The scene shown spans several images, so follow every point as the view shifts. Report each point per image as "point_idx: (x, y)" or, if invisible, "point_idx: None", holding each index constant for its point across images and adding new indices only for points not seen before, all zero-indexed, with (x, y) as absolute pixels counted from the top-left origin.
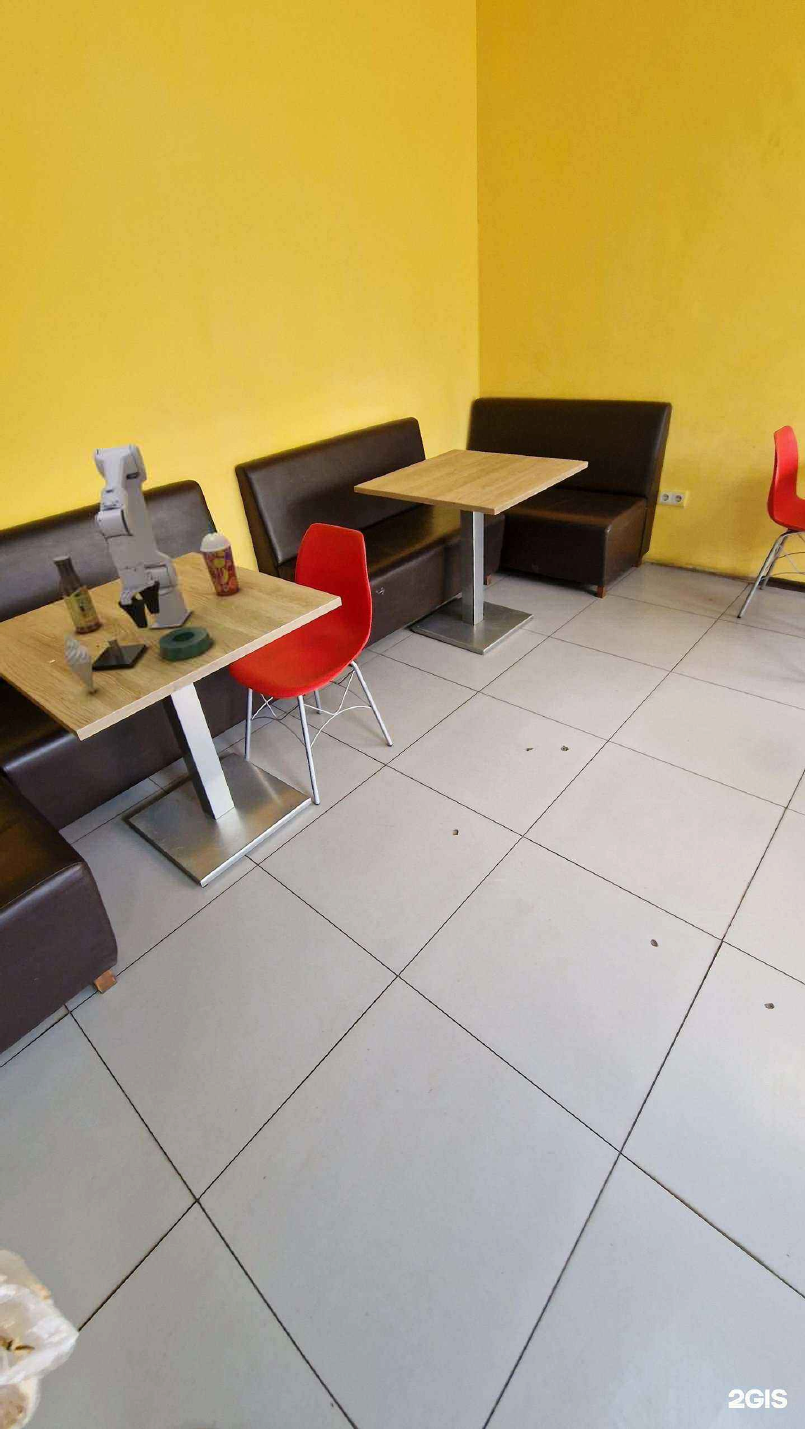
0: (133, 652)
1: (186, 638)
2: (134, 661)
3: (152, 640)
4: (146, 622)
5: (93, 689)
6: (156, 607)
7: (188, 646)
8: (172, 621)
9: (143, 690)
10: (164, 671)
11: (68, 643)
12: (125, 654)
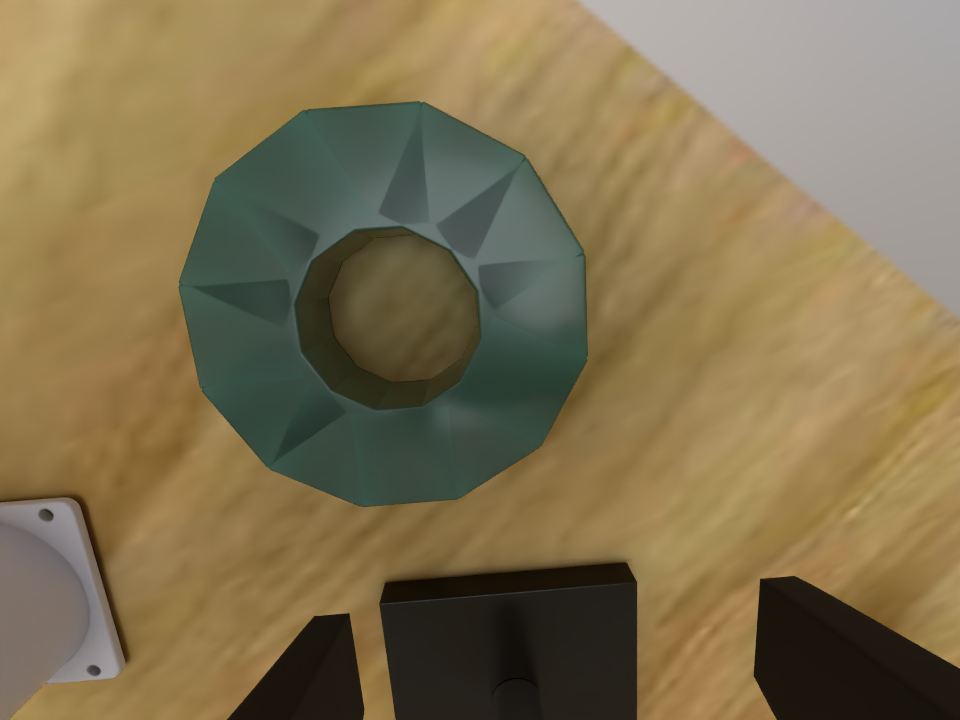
0: (492, 625)
1: (321, 338)
2: (577, 575)
3: (281, 594)
4: (864, 616)
5: None
6: (316, 702)
7: (554, 208)
8: (41, 566)
9: (911, 373)
10: (703, 339)
11: None
12: (514, 660)
